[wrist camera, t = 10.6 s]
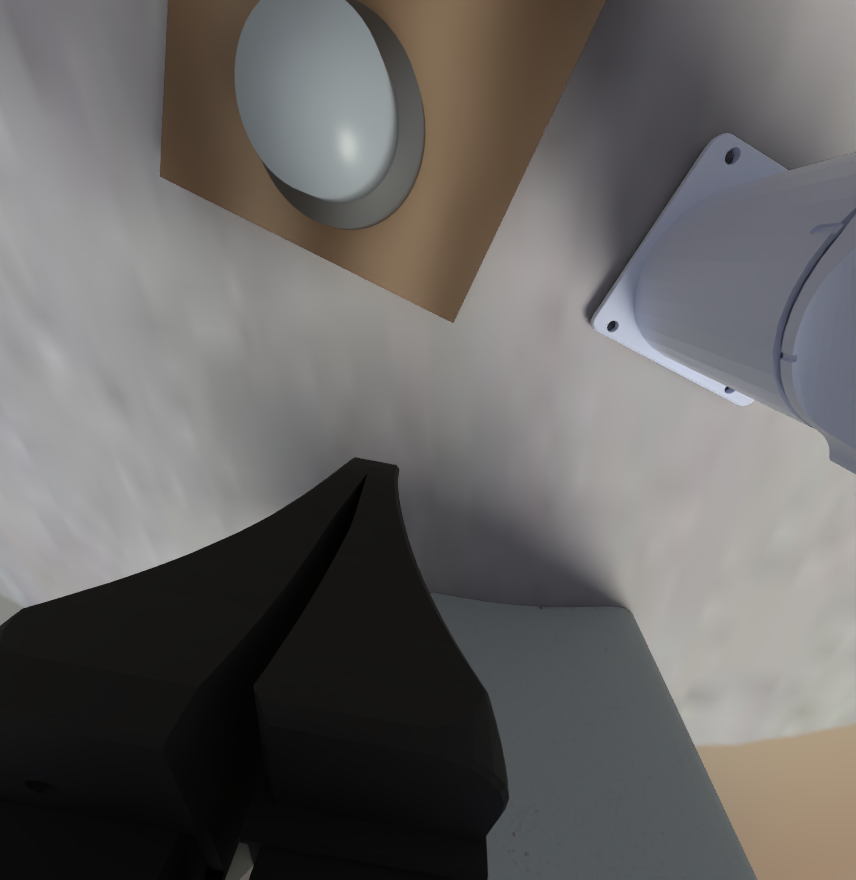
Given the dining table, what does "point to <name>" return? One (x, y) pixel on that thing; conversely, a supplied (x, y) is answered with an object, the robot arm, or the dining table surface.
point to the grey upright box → (590, 750)
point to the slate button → (316, 97)
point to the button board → (419, 143)
